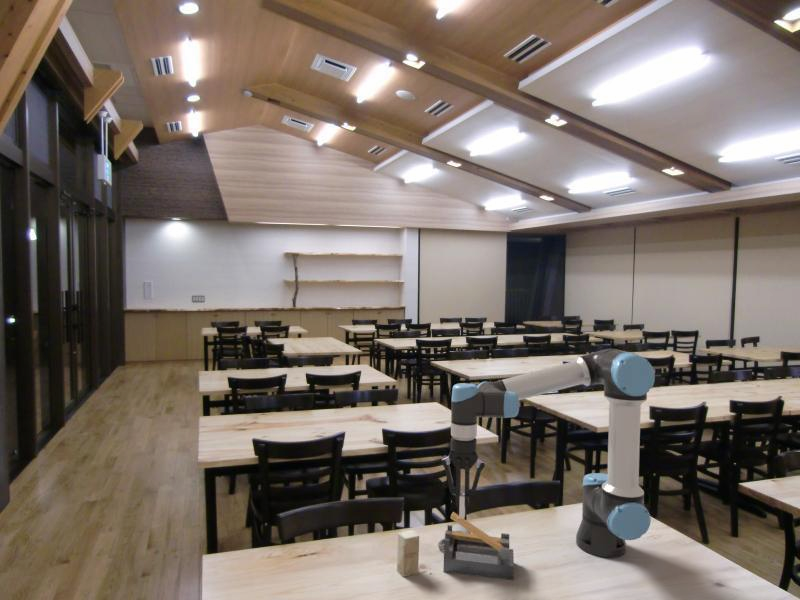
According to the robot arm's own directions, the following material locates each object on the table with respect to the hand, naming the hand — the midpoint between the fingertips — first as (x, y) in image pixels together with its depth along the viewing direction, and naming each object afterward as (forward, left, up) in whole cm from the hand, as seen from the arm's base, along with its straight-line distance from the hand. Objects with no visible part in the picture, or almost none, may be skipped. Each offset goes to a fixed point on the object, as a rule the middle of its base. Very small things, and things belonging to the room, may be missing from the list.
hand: (462, 516), depth 154 cm
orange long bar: (-4, -5, -9) cm, 12 cm away
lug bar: (+4, -3, -12) cm, 13 cm away
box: (+15, +4, -16) cm, 22 cm away
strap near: (-5, 0, -5) cm, 7 cm away
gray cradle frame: (-5, -3, -16) cm, 17 cm away
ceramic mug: (+3, -12, -16) cm, 20 cm away
